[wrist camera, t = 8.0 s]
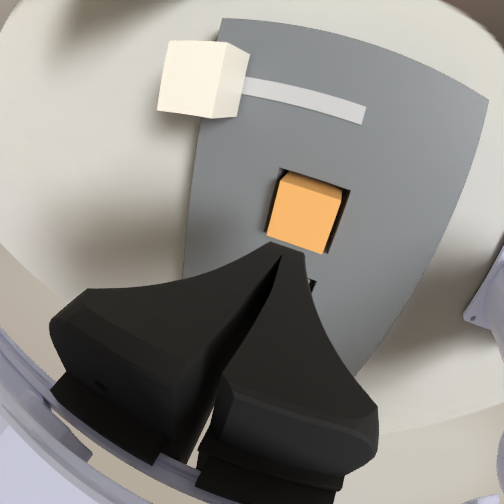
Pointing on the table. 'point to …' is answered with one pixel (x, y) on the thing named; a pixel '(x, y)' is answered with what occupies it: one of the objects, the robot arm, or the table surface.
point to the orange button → (304, 211)
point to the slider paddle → (202, 78)
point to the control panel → (336, 168)
